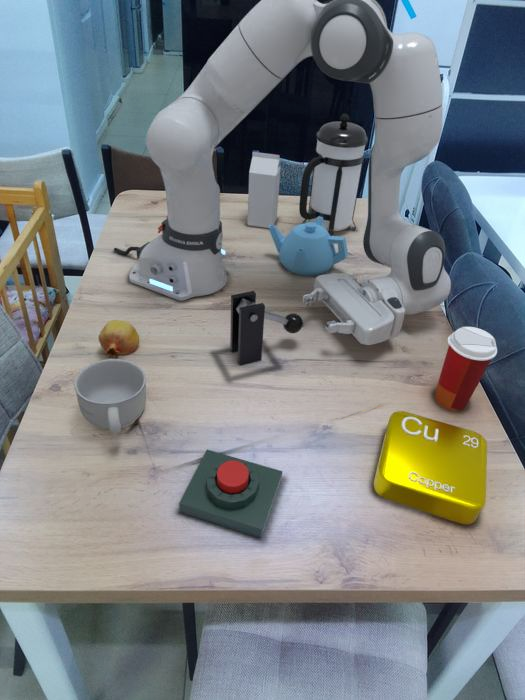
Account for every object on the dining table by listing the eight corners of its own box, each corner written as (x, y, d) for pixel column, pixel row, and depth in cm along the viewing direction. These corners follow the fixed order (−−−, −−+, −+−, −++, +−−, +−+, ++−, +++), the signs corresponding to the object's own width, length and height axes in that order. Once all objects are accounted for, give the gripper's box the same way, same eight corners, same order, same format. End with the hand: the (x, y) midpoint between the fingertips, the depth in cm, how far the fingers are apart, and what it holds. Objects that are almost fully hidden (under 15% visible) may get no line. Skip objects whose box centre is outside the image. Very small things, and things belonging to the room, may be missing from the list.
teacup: (89, 391, 88) (81, 357, 83) (152, 390, 89) (148, 355, 84) (73, 456, 77) (62, 420, 72) (145, 453, 78) (139, 418, 73)
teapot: (292, 285, 118) (297, 244, 111) (265, 255, 128) (267, 215, 121) (347, 273, 123) (355, 233, 116) (317, 245, 133) (322, 207, 126)
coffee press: (300, 213, 148) (312, 102, 129) (355, 218, 147) (375, 108, 128) (295, 240, 135) (307, 122, 116) (355, 247, 134) (377, 128, 115)
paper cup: (472, 391, 93) (499, 331, 84) (472, 420, 87) (500, 359, 78) (429, 380, 95) (451, 320, 86) (426, 408, 89) (448, 346, 80)
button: (212, 488, 70) (212, 481, 69) (223, 464, 73) (223, 456, 72) (242, 498, 69) (242, 490, 68) (252, 472, 72) (252, 465, 71)
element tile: (370, 495, 74) (376, 475, 71) (387, 424, 85) (393, 404, 82) (475, 530, 71) (487, 510, 68) (479, 451, 82) (489, 432, 79)
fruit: (103, 309, 97) (85, 341, 89) (136, 305, 96) (122, 336, 88) (116, 338, 101) (100, 370, 93) (148, 334, 100) (135, 366, 92)
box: (179, 512, 71) (178, 495, 68) (207, 458, 78) (206, 441, 76) (261, 538, 68) (262, 522, 66) (281, 480, 76) (283, 463, 73)
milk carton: (272, 229, 139) (277, 160, 127) (247, 225, 140) (249, 156, 128) (276, 218, 145) (281, 151, 133) (252, 215, 146) (255, 147, 133)
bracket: (261, 342, 101) (264, 283, 92) (277, 367, 95) (283, 307, 86) (213, 353, 97) (212, 293, 89) (228, 380, 92) (228, 318, 83)
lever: (290, 327, 99) (301, 312, 97) (299, 339, 96) (310, 323, 95) (232, 309, 90) (242, 292, 88) (239, 321, 87) (250, 303, 86)
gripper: (351, 261, 106) (292, 272, 101) (410, 315, 92) (344, 331, 87) (347, 287, 110) (290, 298, 105) (402, 342, 96) (339, 358, 91)
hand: (315, 313), depth 96 cm, fingers open, 8 cm apart
